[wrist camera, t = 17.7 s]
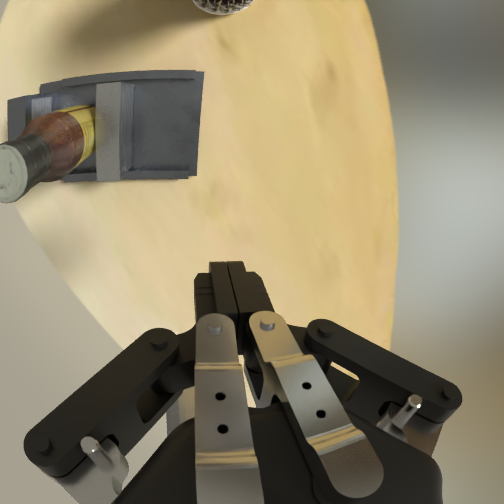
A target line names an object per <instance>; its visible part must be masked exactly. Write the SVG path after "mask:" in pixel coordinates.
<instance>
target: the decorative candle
mask: <svg viewBox="0 0 504 504" xmlns="http://www.w3.org/2000/svg"><path fill="white" fill-rule="evenodd" d="M192 1H193V3H194V4H195V5H196V6H197V8H199V9H201V10H203V11H205V12H207V13H209V14H216V15H222V16H223V15H230V14H236V13H238V12H240V11H242V10H244V9H246V8H248V7H249V6H250V4H251V3H252V2H253V1H254V0H192Z"/></svg>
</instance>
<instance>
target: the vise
mask: <svg viewBox="0 0 504 504" xmlns="http://www.w3.org/2000/svg"><path fill="white" fill-rule="evenodd" d="M203 80H204V72H198V71H196V70H149V71H129V72H116V73H105V74H96V75H88V76H81V77H74V78H68V79H63V80H61V81H56V82H51V83H46V84H41V88H40V94H36V95H27V96H22V97H18V98H14V99H10V100H8V141H15V140H16V139H17V138H18V137H19V136H20V135H21V134H22V132H23V130H24V129H25V128H26V127H27V126H28V124H29V122H31V121H32V120H34V119H35V118H37V117H39V116H42V115H45V114H47V113H49V112H53V111H57V110H61V109H65V108H69V107H74V106H78V105H92V106H95V107H96V89H97V84H103V83H114V82H125V83H131V84H135V87H134V104H133V133H132V166H131V167H130V168H129V170H128V171H127V172H126V174H125V175H124V176H123V178H122V179H121V180H126V179H188V177H189V176H197V158H198V142H199V127H200V114H201V102H202V90H203ZM63 179H64V181H65V182H80V181H97V170H96V151H95V152H94V153H92V154H91V155H90V156H88V157H87V158H86V159H85V160H84V161H82V162H81V163H80V164H79V165H78V166H76V167H75V168H74V169H73V170H72V171H71V172H70V173H68V174H67V175H66V176H64V177H63V178H61V179H59V180H63ZM37 183H39V182H36V183H34V184H33V185H32V186H31V188H32V187H33V186H35V185H36V184H37ZM31 188H30V189H31Z"/></svg>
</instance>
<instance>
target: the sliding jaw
mask: <svg viewBox="0 0 504 504" xmlns="http://www.w3.org/2000/svg"><path fill="white" fill-rule="evenodd" d="M134 87H135V84H131V83H125V82H114V83H103V84H97V89H96V119H95V138H96V170H97V182H106V181H120V180H121V179H122V178H123V176H124V175H125V174H126V172H127V171H128V170H129V168H130V167H131V166H132V133H133V104H134Z"/></svg>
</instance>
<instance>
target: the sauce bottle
mask: <svg viewBox="0 0 504 504" xmlns="http://www.w3.org/2000/svg"><path fill="white" fill-rule="evenodd" d="M95 119H96V107H95V106H92V105H78V106H74V107H69V108H65V109H61V110H57V111H53V112H49V113H47V114H45V115H42V116H39V117H37V118H35V119H34V120H32V121H31V122H29V124H28V126H27V127H26V128H25V129H24V130H23V132H22V134H21V135H20V136H19V137H18V138H17V139H16V140H15V141H6V142H4V143H2V144H0V202H2V203H11V202H15V201H17V200H18V199H20V198H21V197H22V196H24V195H25V194H26V193H27V192H28V191H29V190H30V188H31V186H32V185H33V184H34V183H36V182H53V181H57V180H59V179H61V178H63V177H64V176H66V175H67V174H68V173H70V172H71V171H72V170H73V169H74V168H75V167H76V166H78V165H79V164H80V163H81V162H82V161H84V160H85V159H86V158H87V157H88V156H90V155H91V154H92V153H94V152H95V151H96V138H95Z"/></svg>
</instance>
